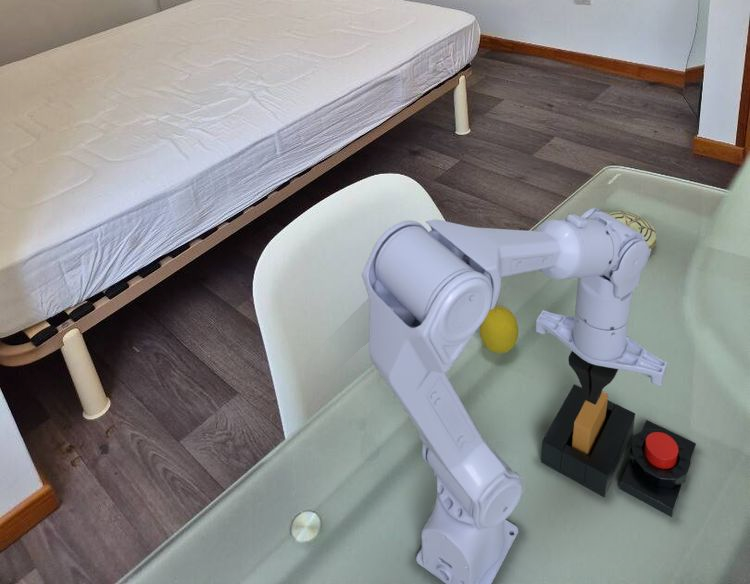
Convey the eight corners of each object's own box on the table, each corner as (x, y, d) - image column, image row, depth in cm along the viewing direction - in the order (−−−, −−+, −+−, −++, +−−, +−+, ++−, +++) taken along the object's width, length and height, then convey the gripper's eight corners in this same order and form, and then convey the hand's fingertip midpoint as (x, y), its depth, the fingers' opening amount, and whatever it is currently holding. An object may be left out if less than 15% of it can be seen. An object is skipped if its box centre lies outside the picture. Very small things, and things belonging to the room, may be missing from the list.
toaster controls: (673, 519, 78) (677, 502, 77) (616, 487, 82) (619, 471, 80) (696, 451, 85) (700, 435, 84) (643, 425, 89) (645, 409, 87)
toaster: (604, 498, 81) (607, 476, 79) (540, 462, 85) (542, 441, 83) (632, 434, 88) (635, 413, 86) (572, 404, 92) (574, 383, 90)
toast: (586, 466, 83) (590, 430, 81) (570, 458, 84) (574, 422, 82) (604, 430, 88) (608, 394, 85) (588, 422, 89) (592, 387, 86)
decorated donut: (577, 239, 122) (578, 222, 121) (618, 217, 127) (620, 200, 125) (624, 271, 114) (627, 253, 112) (667, 246, 119) (669, 229, 117)
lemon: (517, 367, 98) (518, 325, 95) (478, 362, 99) (478, 321, 96) (517, 337, 103) (519, 297, 100) (480, 333, 104) (480, 293, 101)
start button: (671, 474, 80) (673, 465, 79) (640, 458, 82) (641, 449, 81) (680, 451, 82) (682, 441, 82) (649, 436, 84) (651, 426, 84)
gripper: (680, 314, 75) (665, 401, 81) (554, 266, 83) (549, 348, 89) (661, 357, 70) (646, 446, 76) (529, 302, 78) (525, 386, 84)
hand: (592, 396), depth 82 cm, fingers closed
